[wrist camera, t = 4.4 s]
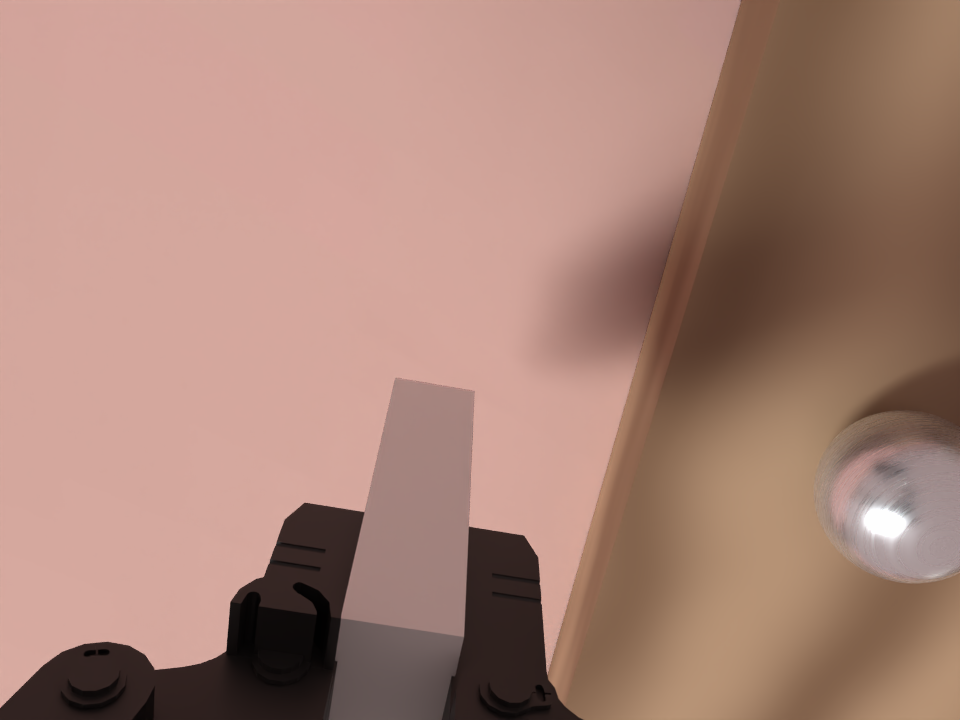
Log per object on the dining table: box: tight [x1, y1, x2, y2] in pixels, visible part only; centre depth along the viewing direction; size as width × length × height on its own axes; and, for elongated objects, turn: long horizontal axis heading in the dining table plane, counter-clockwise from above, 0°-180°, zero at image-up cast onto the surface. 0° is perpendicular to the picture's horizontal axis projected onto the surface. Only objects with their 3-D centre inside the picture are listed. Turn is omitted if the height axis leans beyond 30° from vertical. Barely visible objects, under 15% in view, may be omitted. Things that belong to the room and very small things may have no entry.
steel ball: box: [814, 410, 960, 583], centre depth 18 cm, size 4×4×4 cm
